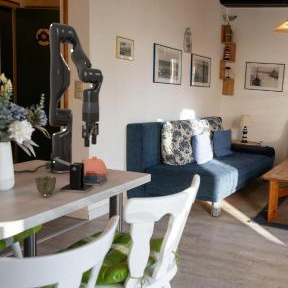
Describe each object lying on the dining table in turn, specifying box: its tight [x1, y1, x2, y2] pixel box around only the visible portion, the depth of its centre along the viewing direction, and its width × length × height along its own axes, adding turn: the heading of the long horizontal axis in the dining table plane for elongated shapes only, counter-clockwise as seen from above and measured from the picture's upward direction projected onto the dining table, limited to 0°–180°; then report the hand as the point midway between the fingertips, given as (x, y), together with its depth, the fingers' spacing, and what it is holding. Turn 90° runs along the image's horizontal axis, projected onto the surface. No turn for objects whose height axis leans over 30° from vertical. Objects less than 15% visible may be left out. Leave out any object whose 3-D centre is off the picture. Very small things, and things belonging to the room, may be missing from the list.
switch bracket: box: [59, 161, 94, 192], centre depth 166 cm, size 11×9×12 cm
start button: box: [86, 171, 95, 176], centre depth 179 cm, size 4×4×2 cm
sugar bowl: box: [80, 156, 108, 176], centre depth 192 cm, size 12×14×10 cm
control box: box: [84, 173, 108, 185], centre depth 179 cm, size 12×10×4 cm
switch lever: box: [50, 157, 82, 167], centre depth 165 cm, size 12×5×2 cm, turn 92°
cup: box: [35, 175, 57, 197], centre depth 153 cm, size 8×7×8 cm
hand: (90, 145), depth 177 cm, fingers open, 8 cm apart
